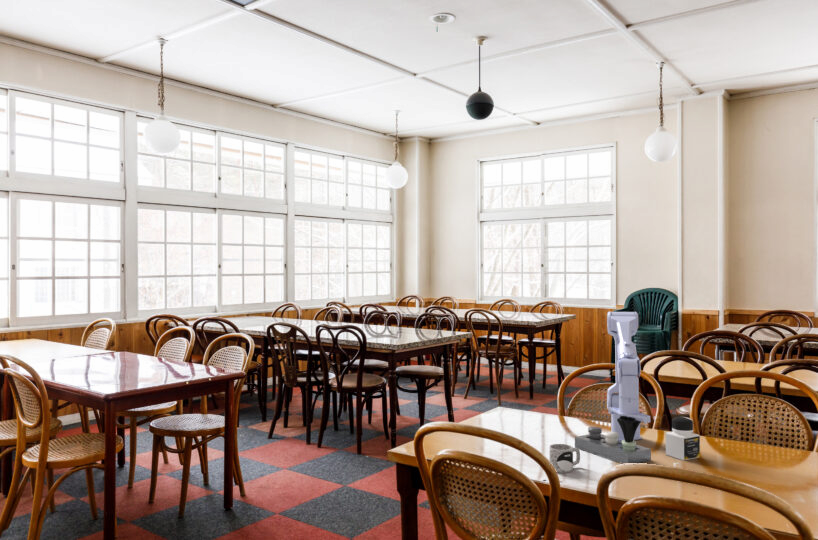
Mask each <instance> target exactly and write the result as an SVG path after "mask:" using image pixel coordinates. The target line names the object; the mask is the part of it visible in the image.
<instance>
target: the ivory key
mask: <svg viewBox="0 0 818 540" xmlns="http://www.w3.org/2000/svg"><path fill="white" fill-rule="evenodd" d="M604 435H605V437H606V444H609V445H617V444H618V438H619V435H618V433H617V432H611V431H605V432H604Z"/></svg>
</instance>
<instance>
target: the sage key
mask: <svg viewBox="0 0 818 540" xmlns="http://www.w3.org/2000/svg"><path fill="white" fill-rule="evenodd" d="M636 445H637V441H636V440H633V442H629V443H628V442H625V440H622V446H623V449H625V450H628V451H633V450H635V447H636Z"/></svg>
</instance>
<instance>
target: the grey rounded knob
mask: <svg viewBox="0 0 818 540" xmlns="http://www.w3.org/2000/svg"><path fill="white" fill-rule="evenodd" d="M587 431H588V434H589V438H590V439H593V440H599V439H601V434H602V432H603V429H602V428H601V427H598V426H589V427H588V429H587Z"/></svg>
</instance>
